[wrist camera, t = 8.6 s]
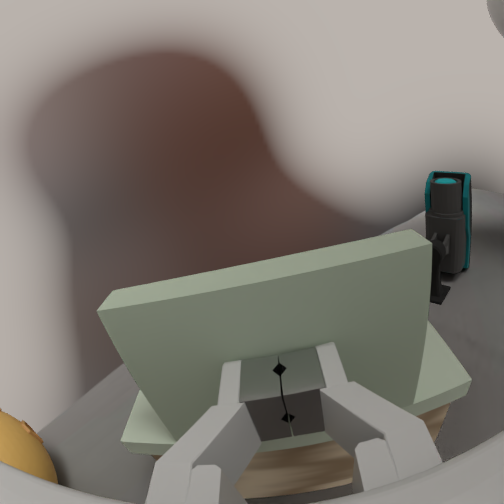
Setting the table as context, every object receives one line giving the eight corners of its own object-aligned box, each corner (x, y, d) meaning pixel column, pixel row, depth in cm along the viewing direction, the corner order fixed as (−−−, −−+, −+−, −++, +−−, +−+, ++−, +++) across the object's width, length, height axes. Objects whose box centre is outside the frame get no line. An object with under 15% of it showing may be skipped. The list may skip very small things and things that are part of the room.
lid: (369, 261, 22) (358, 166, 20) (466, 394, 9) (503, 224, 6) (186, 298, 23) (156, 210, 21) (131, 453, 10) (35, 319, 8)
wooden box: (373, 343, 25) (372, 265, 22) (426, 459, 13) (457, 381, 10) (214, 374, 26) (185, 303, 24) (195, 498, 14) (136, 438, 11)
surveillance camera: (401, 188, 26) (430, 170, 31) (404, 295, 30) (433, 259, 35) (454, 192, 22) (471, 173, 27) (449, 306, 26) (470, 266, 31)
